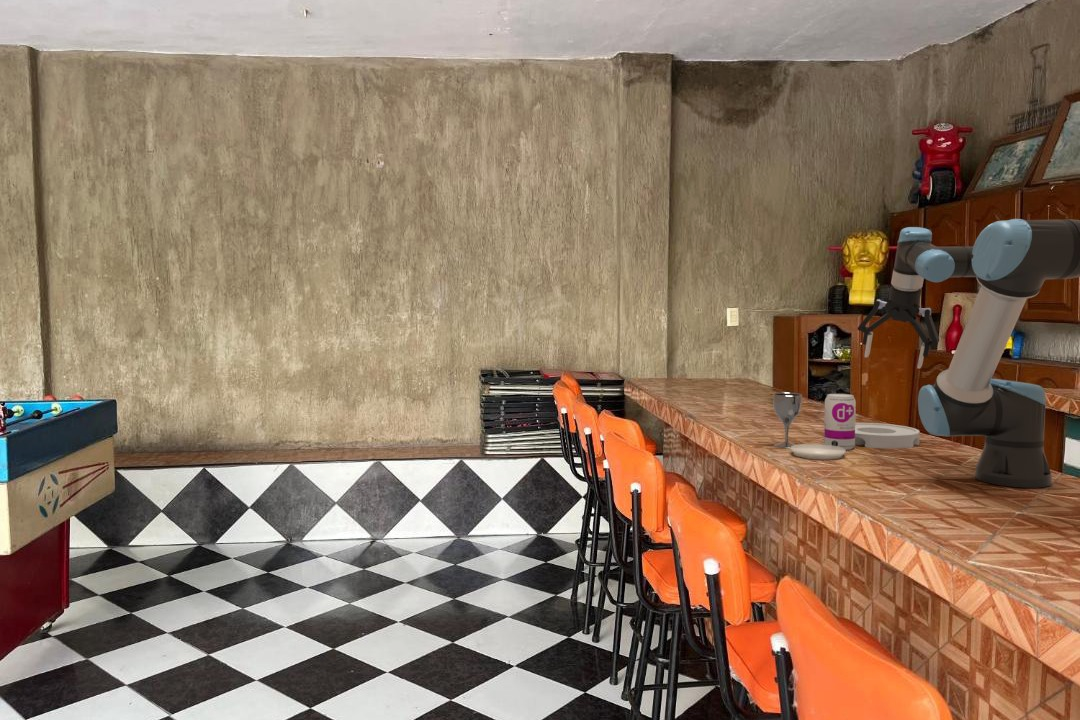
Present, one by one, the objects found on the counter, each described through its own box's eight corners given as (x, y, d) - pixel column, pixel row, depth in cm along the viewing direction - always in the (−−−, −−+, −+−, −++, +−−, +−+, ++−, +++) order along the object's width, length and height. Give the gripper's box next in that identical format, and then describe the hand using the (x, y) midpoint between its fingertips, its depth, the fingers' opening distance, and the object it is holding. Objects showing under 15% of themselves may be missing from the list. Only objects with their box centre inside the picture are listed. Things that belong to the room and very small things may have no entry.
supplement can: (857, 451, 220) (858, 397, 219) (826, 450, 221) (827, 396, 220) (851, 445, 228) (853, 393, 227) (821, 444, 229) (822, 393, 228)
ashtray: (934, 449, 223) (934, 435, 222) (851, 449, 223) (851, 435, 223) (898, 435, 246) (899, 422, 246) (823, 435, 246) (823, 423, 246)
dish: (852, 460, 207) (852, 453, 207) (797, 460, 208) (798, 453, 208) (836, 450, 221) (836, 444, 221) (785, 450, 222) (785, 443, 222)
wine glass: (797, 443, 232) (798, 392, 230) (803, 448, 224) (804, 395, 223) (769, 443, 232) (770, 392, 231) (775, 448, 224) (775, 395, 223)
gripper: (961, 291, 204) (945, 366, 212) (860, 275, 217) (849, 347, 225) (956, 299, 198) (939, 376, 207) (853, 282, 211) (842, 355, 220)
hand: (892, 361), depth 216 cm, fingers open, 13 cm apart
